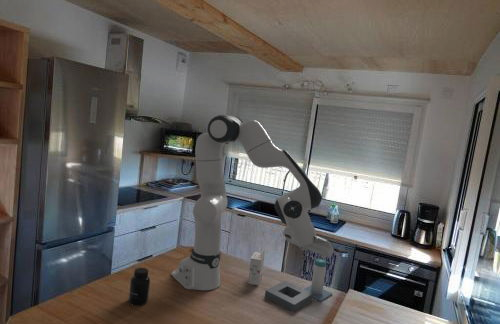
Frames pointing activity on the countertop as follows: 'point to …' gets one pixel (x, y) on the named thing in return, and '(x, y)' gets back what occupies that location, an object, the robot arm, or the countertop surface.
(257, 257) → the ink cartridge box
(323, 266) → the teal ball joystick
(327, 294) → the rubber mat
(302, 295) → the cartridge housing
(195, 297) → the countertop surface
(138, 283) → the supplement bottle
